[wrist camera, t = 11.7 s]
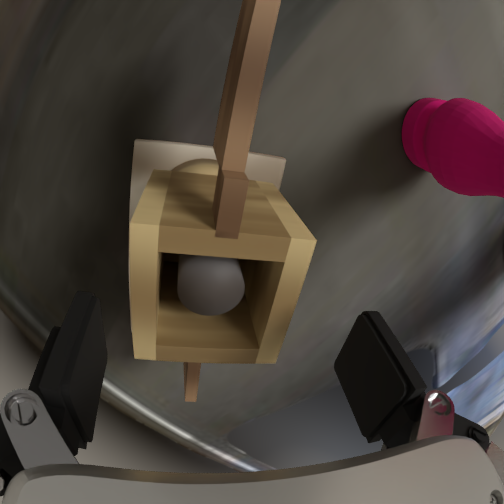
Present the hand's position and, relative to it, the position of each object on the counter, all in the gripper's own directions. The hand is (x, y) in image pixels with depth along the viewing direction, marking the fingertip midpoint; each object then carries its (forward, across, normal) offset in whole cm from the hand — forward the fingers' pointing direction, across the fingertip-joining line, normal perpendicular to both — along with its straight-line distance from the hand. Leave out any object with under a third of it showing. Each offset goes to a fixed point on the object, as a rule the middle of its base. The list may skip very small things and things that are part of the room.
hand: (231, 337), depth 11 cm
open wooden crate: (+9, +1, -5) cm, 10 cm away
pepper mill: (+14, -16, -9) cm, 23 cm away
